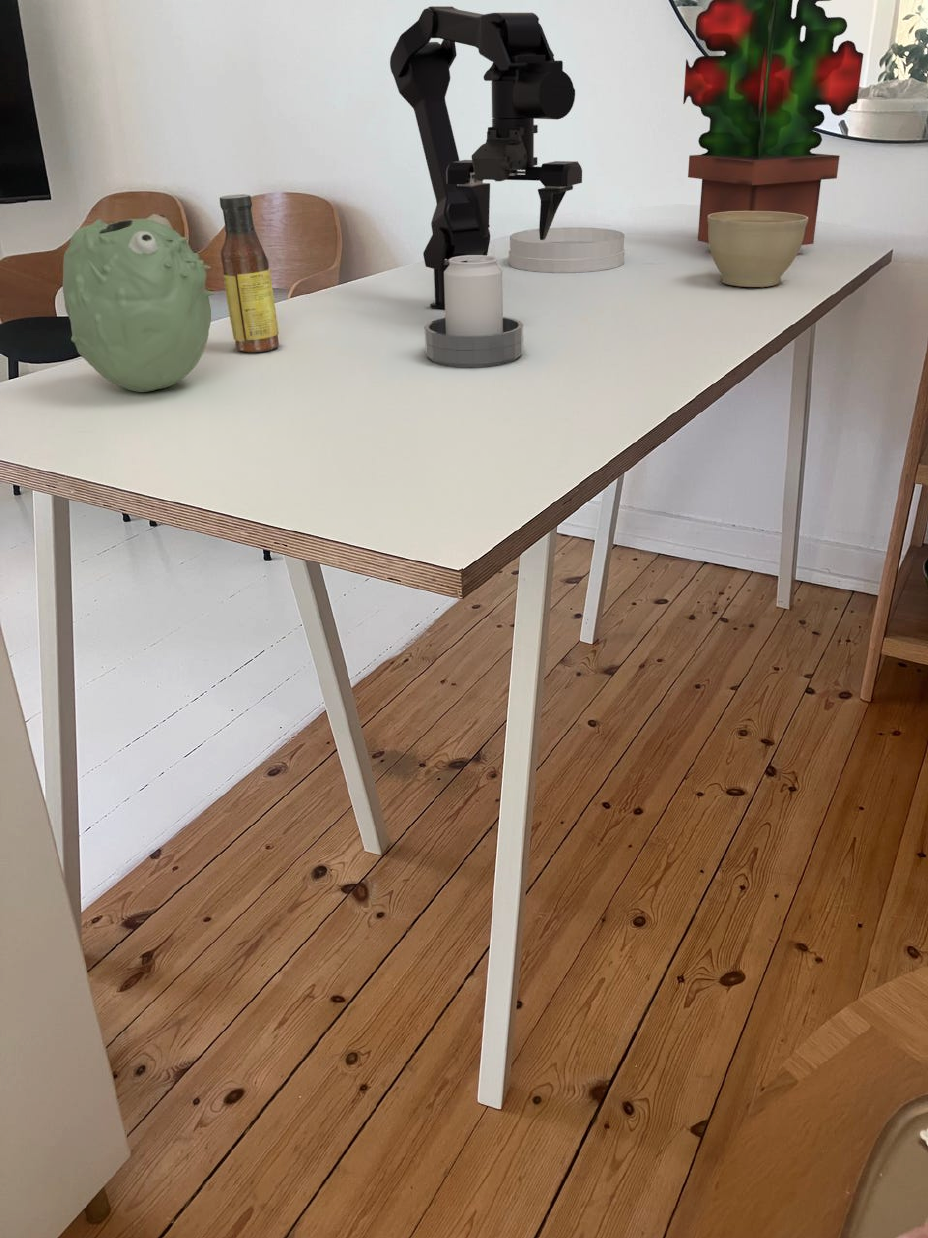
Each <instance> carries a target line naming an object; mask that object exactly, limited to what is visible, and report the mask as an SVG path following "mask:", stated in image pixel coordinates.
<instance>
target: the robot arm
mask: <svg viewBox="0 0 928 1238" xmlns="http://www.w3.org/2000/svg"><path fill="white" fill-rule="evenodd" d="M539 21H540V18H539V16H538V15H537V14H536V13H534V12H490V13H485V14H483V13H479V12H474V11H473V12H472V11H467V10H462V9H459V8H455V7H454V6H448V5H447V6H442V5H441V6H435V5H434V6H433V5H432V6H428V7H427V8H424V9H423V10H422V11H421V14H420V16H419V17H418V20H417V21H416V22H414V23H413V24H412V25H411V26H410V27H408V28H407V29H406V30H405V31H404V32H403V33H401V35H400V36H399V37H398V40H397V42H396V44H395V46H394V48H393V50H392V52H391V55H390V59H389V66H390V67H389V69H390V72H391V75H392V76H393V79H394V81H395V85H396V89H397V90H398V93H399V94H400V95H401V97H402V98H403V99H404V100H405V101H406V102H407V103H408V104H409V105H410V107H411V108H412V109H413V111H414V116H415V119H416V124H417V127H418V132H419V136H420V140H421V145H422V148H423V153H424V157H425V161H426V165H427V169H428V173H429V177H430V181H431V186H432V190H433V193H434V197H435V202H436V205H435V209H434V212H433V216H432V219H431V223H430V225H431V231H432V234H431V237H430V238H429V240H428V242H427V245H426V246H425V249H424V250H423V260H424V261H423V262H424V265H425V267H426V268H430V269H433V283H434V302H432V303H430V304H429V307H430V308H432V309H433V308H435V309H445V292H444V271H445V270H446V269H447V267H448V266H449V265H450V262H449V261H448V260H449V259H450V258H453V257H457V256H465V255H487V256H488V254H489V249H490V242H491V233H490V229H489V228H490V227H491V225H490V209H491V207H490V205H491V203H490V201H491V183H490V182H484V180H485V181H486V180H488V181H493V180H494V182H504V181H535V182H537V181H538V182H539V181H540V183H541V184H542V185H543V187H542V188H537V193H538V196H539V200H540V206H539V225H538V227H539V228H538V229H539V233H540V240H544V239H545V238H546V236H547V233H548V231H549V228H551V225H552V223H553V221H554V218H555V215H556V213H557V210H558V209H559V206H560V205H561V202H562V201H563V199H564V197H565V195H566V193H567V192H568V191H569V192H570V191H573V190H574V186H575V185H579V184H582V183H583V169H582V166H581V164H580V163H579V161H576V160H575V161H571V160H565V161H564V160H562V161H561V160H555V161H549V162H545V163H542V164H541V166H538V157H537V156H535V152H534V151H535V149H534V148H535V141H534V140H535V134H539V133H538V131H539V129H538V128H539V127H538V126H539V125H538V124H535V120H561V119H563V118H565V117H566V116H567V115H569V114H570V112H571V110H572V109H573V106H574V105H575V100H576V89H575V88H574V87H575V86H574V83H573V80H572V78H571V77H570V76H569V75H568V73H567V72H565V71H564V69H563V68H564V62H563V60H555V58H554V57H555V54H554V52H553V51H552V49H551V47H550V44H549V42H548V39H547V36H546V34H545V32H544V29H543V26H542V25H541V23H540V22H539ZM431 39H441V40H442V41H441V43H439V42H438V41H431ZM456 43H457V44H462V45H467V46H470V47H474V48H476V49H478V53H479V55H480V56H482V57H483V58H485V59H487V60H489V61H490V62H492V65H491V66H490V67H489V68H488V70H486V72H485V73H484V75H483V80H484V81H485V82H491V126H487V132H486V141H485V143H483V144H481V145H480V146H479V147H478V148H477V149H476V150H475V151H474V152H473V153H472V155H471V159H462V160H461V159H460V156H459V153H458V149H457V144H456V143H457V142H456V140H455V136H454V135H455V134H454V131H453V127H452V123H451V119H450V115H449V111H448V107H447V101H446V96H447V91H448V89H449V85H450V82H451V72H450V69H451V67H452V65H453V63H454V61H455V59H456V57H457V55H458V54H457V48H456Z"/></svg>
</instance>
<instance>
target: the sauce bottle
mask: <svg viewBox="0 0 928 1238" xmlns="http://www.w3.org/2000/svg"><path fill="white" fill-rule="evenodd" d="M219 206H220V208H221V209H220V210H222V214H223V215H222V216H223V221H224V222H223V223H224V231H225V237H224V242H223V244H222V247H221V250H220V259H221V265H222V270H223V273H222V276H223V282H224V288H225V294H226V295H225V296H226V299H227V300H226V302H227V307H228V313H229V320H230V325H231V332H232V339H233V340H234V342H235V343H234V344H235V349H236V350H237V351H238V352H243V353H263V352H269V351H272V350H275V349H276V348H278V347H279V346H280V342H279V333H280V332H279V331H280V330H279V325H278V317H277V311H276V304H275V299H274V290H273V283H272V276H271V269H270V263H269V259H268V257H267V255H266V253H265V251H264V248H263V246H262V243H261V241H260V239H259V236H258V234H257V232H256V229H255V224H254V220H253V211H252V207H253V202H252V195H250V194H244V193H242V194H229V195H228V194H227V195H223V196H219Z"/></svg>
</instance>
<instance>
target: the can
mask: <svg viewBox="0 0 928 1238" xmlns="http://www.w3.org/2000/svg"><path fill="white" fill-rule="evenodd" d="M448 261H449V262H450V265H449V266H448V267H447V269H446V270H445V271H444V292H445V308H444V318H445V323H446V334H448V335H458V336H479V335H491V334H499V333H503V317H504V303H503V302H504V300H503V299H504V298H503V294H504V292H503V289H504V287H503V286H504V284H503V283H504V282H503V269H502V268H501V267H500V266H499V265H498V263H497V261H498V258H497V257H496V256H493V255H488V254H487V255H465V256H457V257H453V258H450V259H449V260H448Z"/></svg>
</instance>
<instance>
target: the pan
mask: <svg viewBox="0 0 928 1238" xmlns="http://www.w3.org/2000/svg"><path fill="white" fill-rule="evenodd" d="M423 327H424V349H425V351H424V352H425V355H426V357H427V358H429V359H430V360H431V362H434V363H435V364H439V365H442V366H447V367H455V368H486V367H487V368H488V367H495V366H500V365H505V364H509V363H511V362H514V361H516V360H518V359H519V357H521V355H523V352H524V324H523V322H522V321H520V320H518V319H515V318H512V317H507V316H503V333H499V334H491V335H479V336H458V335H448V334H446V323H445V317H443V318H439V319H435V320H433V321H430V322H428V323H426V324H425V325H424V326H423Z"/></svg>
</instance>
